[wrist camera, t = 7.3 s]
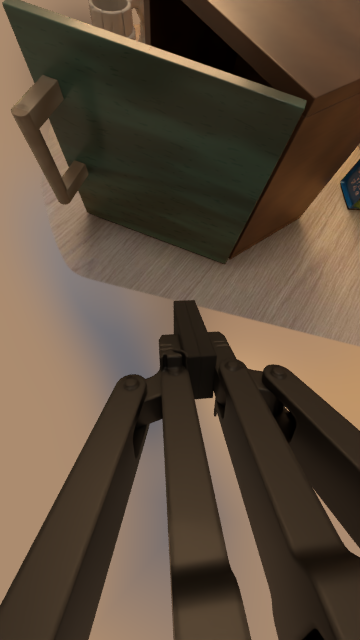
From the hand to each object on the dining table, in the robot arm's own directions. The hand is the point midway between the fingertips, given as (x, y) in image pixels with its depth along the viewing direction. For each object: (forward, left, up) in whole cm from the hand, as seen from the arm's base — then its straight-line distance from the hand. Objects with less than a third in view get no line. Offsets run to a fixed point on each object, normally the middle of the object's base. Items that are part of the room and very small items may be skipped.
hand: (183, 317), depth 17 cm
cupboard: (+22, +18, -14) cm, 32 cm away
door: (+5, +14, -14) cm, 21 cm away
